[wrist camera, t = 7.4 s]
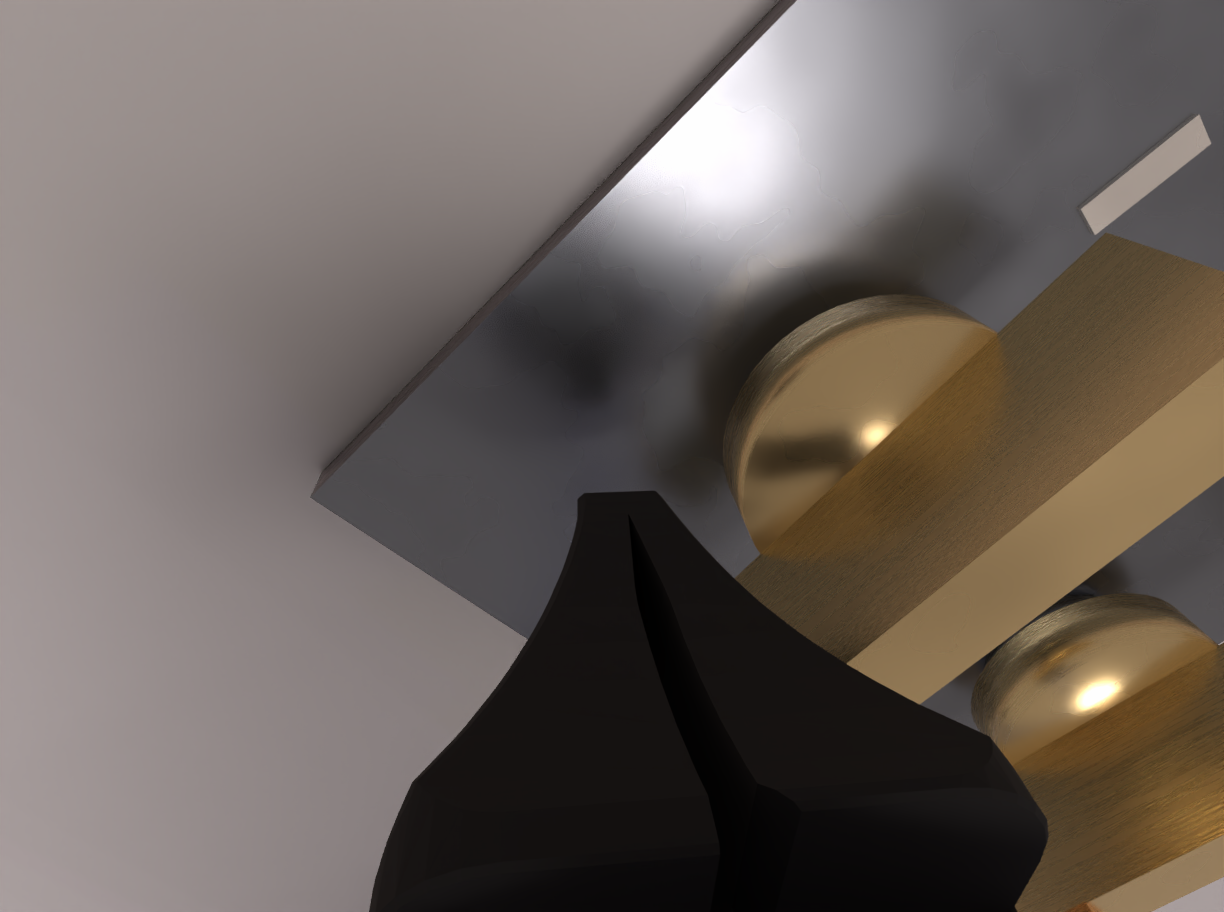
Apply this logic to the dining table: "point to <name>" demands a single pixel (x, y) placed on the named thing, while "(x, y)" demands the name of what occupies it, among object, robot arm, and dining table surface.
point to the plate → (804, 274)
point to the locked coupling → (1114, 751)
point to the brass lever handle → (973, 456)
